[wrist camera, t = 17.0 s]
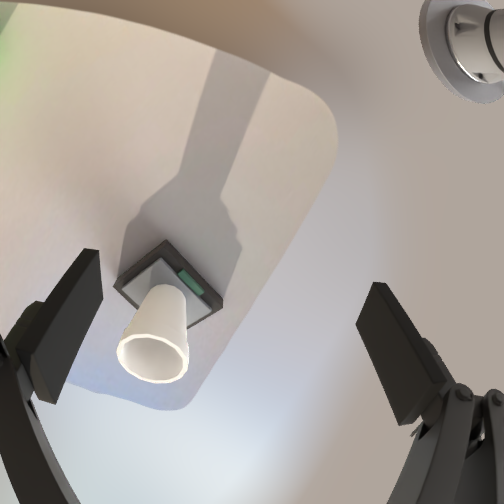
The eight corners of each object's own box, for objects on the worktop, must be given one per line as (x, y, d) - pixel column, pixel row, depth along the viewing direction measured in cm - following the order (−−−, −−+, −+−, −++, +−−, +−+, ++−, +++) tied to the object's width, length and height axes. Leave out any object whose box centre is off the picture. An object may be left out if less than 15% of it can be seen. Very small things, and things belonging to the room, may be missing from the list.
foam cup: (135, 273, 47) (111, 329, 35) (195, 277, 48) (186, 336, 36) (141, 320, 51) (123, 379, 40) (195, 325, 52) (188, 386, 40)
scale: (223, 299, 54) (222, 311, 51) (172, 330, 56) (169, 342, 54) (166, 239, 48) (162, 249, 45) (116, 278, 51) (111, 289, 48)
